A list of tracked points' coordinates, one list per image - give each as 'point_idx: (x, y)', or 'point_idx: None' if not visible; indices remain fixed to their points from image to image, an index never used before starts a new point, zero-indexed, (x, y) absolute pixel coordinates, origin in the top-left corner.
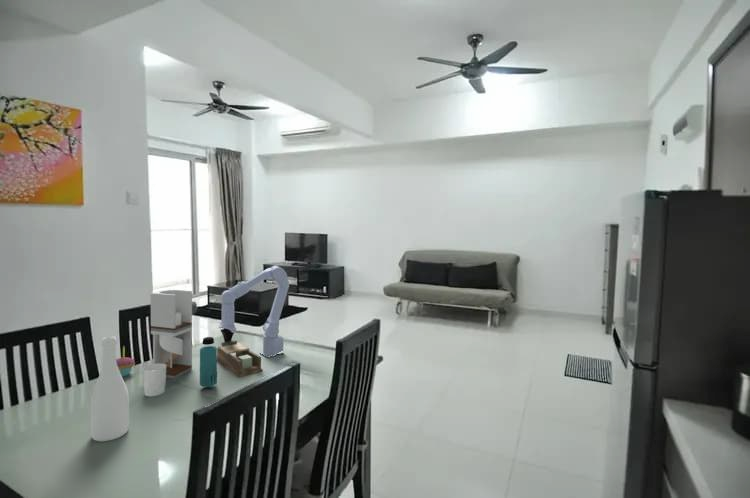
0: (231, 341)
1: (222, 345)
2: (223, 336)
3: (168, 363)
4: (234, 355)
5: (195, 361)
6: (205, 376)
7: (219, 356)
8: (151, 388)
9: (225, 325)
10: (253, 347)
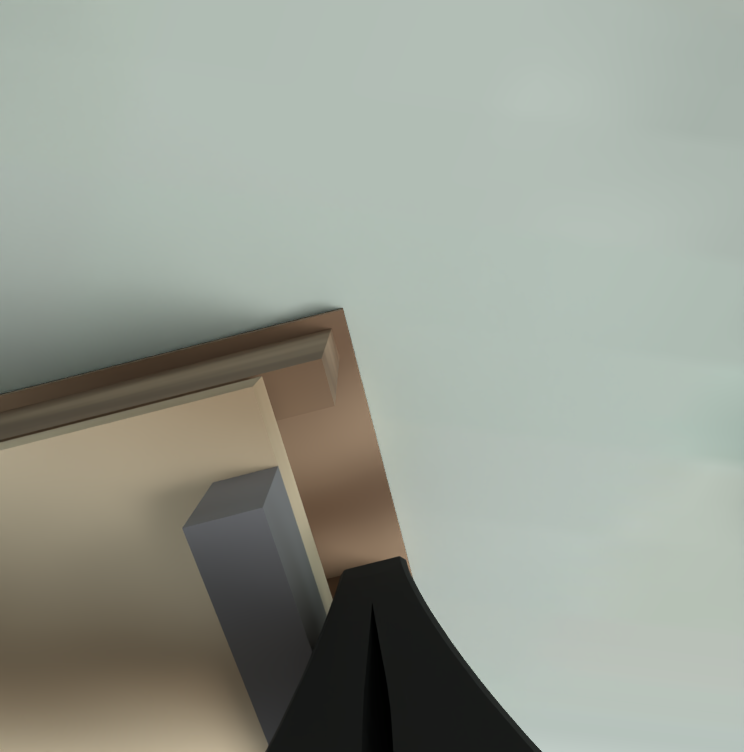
0: None
1: (205, 494)
2: (467, 722)
3: None
4: (399, 548)
5: (454, 29)
6: None
7: (232, 360)
8: None
9: None
10: (628, 745)
